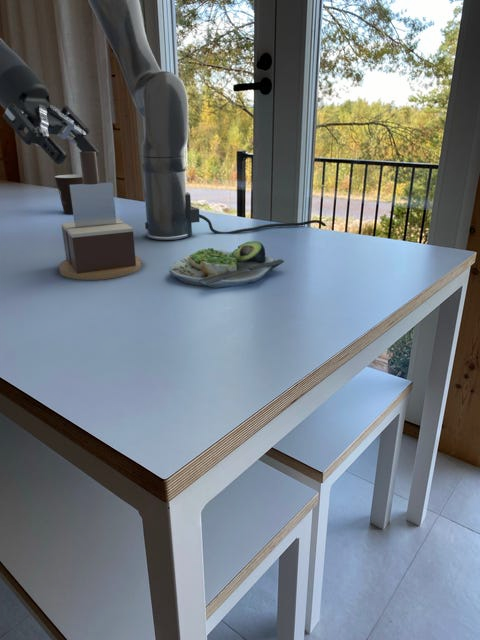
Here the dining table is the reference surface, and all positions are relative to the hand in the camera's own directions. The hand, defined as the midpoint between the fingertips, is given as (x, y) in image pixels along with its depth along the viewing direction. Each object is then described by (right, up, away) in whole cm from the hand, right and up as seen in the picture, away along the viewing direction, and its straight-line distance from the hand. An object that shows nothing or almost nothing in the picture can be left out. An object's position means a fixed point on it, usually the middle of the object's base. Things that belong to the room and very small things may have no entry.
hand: (80, 158), depth 78 cm
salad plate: (+24, -19, +4) cm, 31 cm away
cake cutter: (+2, -10, +4) cm, 11 cm away
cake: (+2, -17, +7) cm, 19 cm away
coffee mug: (-20, +5, +59) cm, 62 cm away
